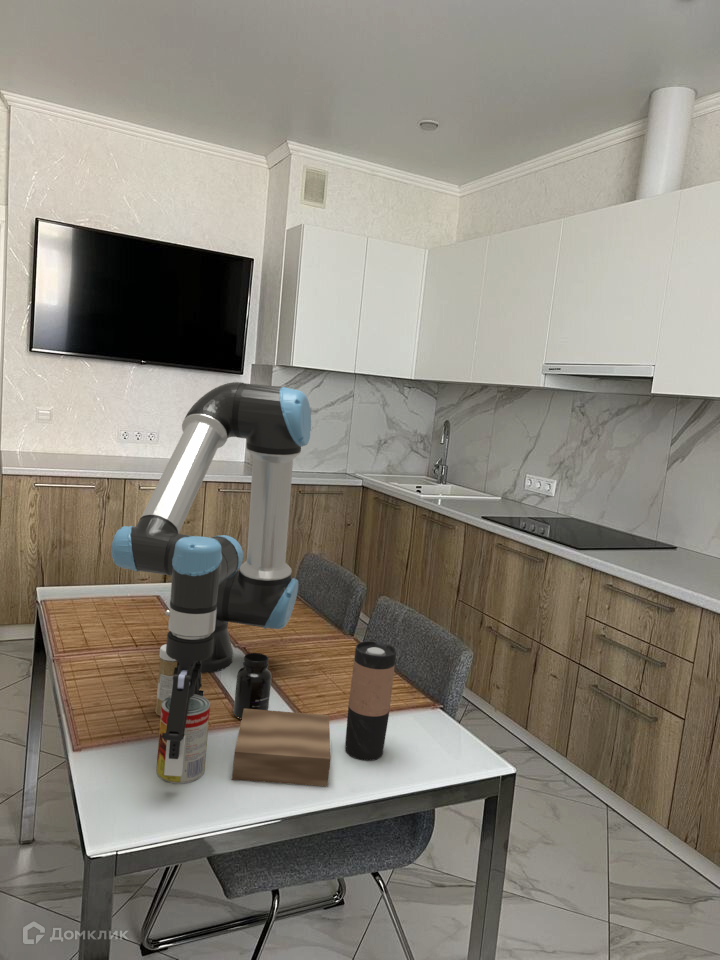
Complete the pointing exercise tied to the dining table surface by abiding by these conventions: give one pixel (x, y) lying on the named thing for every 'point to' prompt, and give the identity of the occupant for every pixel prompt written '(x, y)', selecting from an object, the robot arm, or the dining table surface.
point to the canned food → (187, 740)
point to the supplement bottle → (252, 684)
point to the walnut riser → (283, 748)
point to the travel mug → (369, 700)
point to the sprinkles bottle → (164, 678)
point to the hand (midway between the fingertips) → (180, 753)
